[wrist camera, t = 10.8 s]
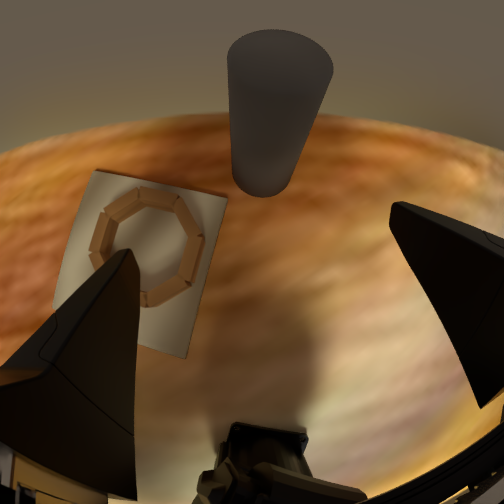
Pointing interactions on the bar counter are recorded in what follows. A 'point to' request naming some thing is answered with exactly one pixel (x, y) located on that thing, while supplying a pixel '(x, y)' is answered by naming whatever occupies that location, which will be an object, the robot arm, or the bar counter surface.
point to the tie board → (147, 250)
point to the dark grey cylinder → (273, 105)
